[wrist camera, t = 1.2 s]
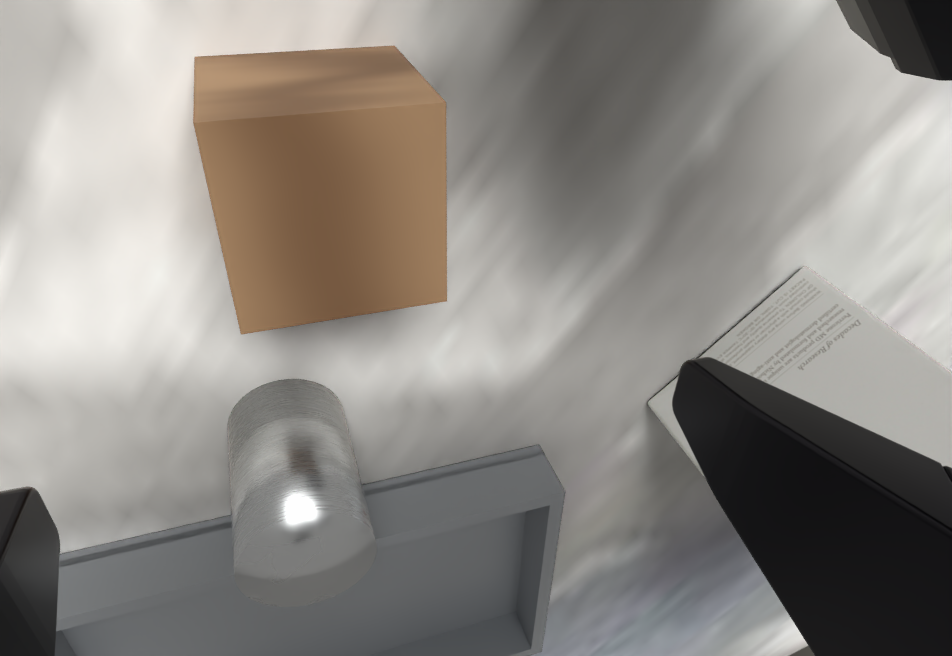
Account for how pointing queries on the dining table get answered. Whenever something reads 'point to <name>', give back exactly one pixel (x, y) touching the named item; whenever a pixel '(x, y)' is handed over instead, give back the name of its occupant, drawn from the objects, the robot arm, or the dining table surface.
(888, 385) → the supplement box
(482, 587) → the tray
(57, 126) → the dining table surface
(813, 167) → the dining table surface
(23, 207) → the dining table surface
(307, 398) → the steel peg
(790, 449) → the robot arm
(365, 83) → the walnut block
